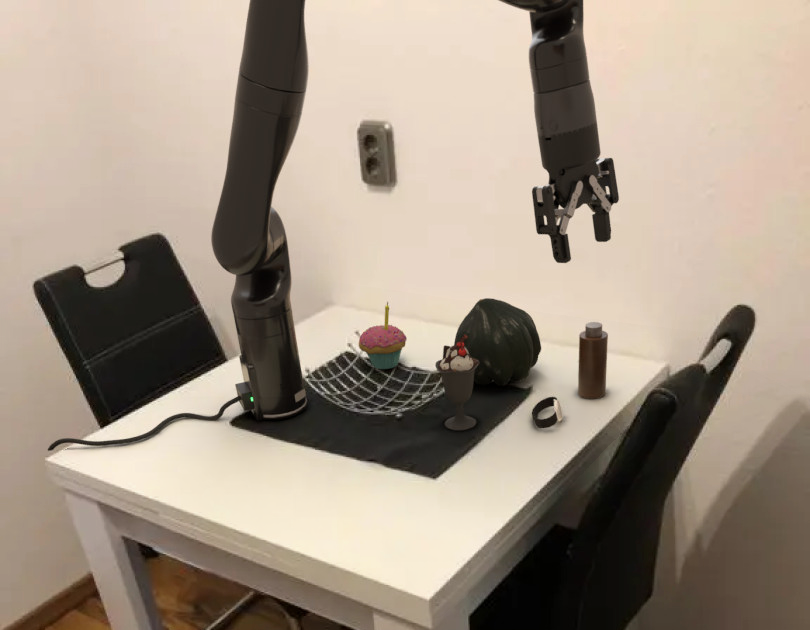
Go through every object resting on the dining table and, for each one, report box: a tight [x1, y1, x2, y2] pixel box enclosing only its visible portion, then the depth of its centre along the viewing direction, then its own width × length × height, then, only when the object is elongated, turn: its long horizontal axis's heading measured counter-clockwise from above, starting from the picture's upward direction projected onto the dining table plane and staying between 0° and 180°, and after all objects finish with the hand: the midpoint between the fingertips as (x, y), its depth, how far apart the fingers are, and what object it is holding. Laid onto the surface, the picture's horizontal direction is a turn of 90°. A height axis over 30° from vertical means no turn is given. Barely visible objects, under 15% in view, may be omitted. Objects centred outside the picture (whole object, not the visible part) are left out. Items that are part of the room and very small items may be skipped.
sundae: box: [434, 335, 480, 432], centre depth 139 cm, size 7×7×15 cm
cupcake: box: [358, 301, 407, 370], centre depth 162 cm, size 9×8×12 cm
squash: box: [453, 297, 542, 387], centre depth 153 cm, size 14×15×15 cm
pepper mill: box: [577, 321, 609, 400], centre depth 145 cm, size 4×4×12 cm
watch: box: [531, 396, 563, 429], centre depth 140 cm, size 8×5×4 cm, turn 167°
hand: (583, 251), depth 123 cm, fingers open, 8 cm apart
